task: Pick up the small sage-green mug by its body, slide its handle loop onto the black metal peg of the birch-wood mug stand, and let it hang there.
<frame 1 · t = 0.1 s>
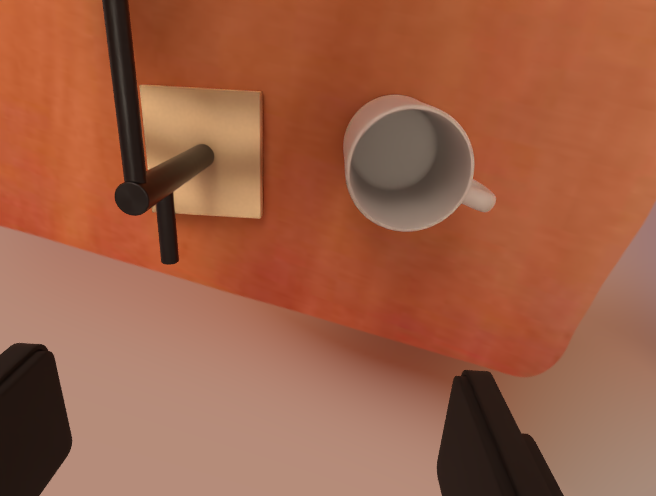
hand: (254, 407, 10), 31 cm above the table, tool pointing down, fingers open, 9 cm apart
mug holder: (207, 153, 39), on the table
mug: (408, 153, 39), on the table
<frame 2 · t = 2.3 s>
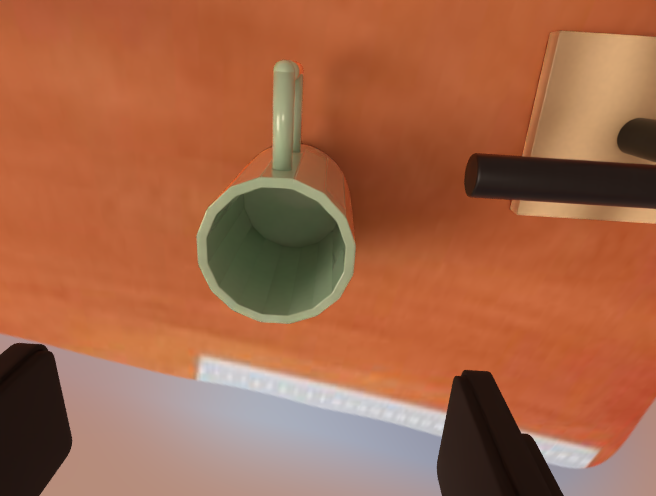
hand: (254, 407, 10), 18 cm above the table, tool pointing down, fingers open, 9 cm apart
small mug: (294, 198, 27), on the table
mug holder: (621, 133, 26), on the table
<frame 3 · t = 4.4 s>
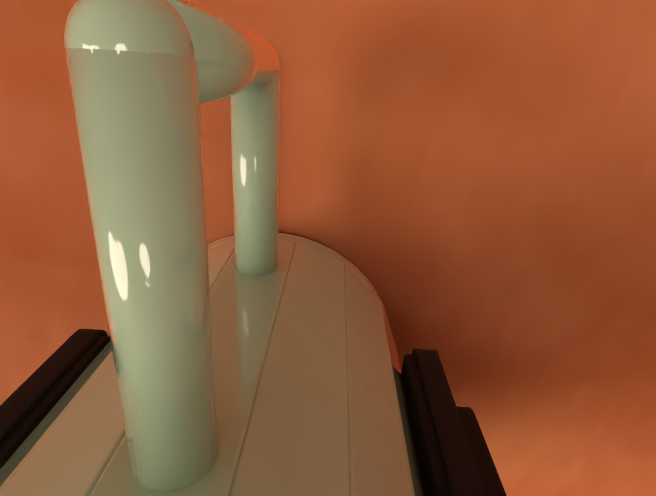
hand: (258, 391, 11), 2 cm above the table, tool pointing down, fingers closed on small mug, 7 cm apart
small mug: (271, 342, 13), on the table, touching gripper
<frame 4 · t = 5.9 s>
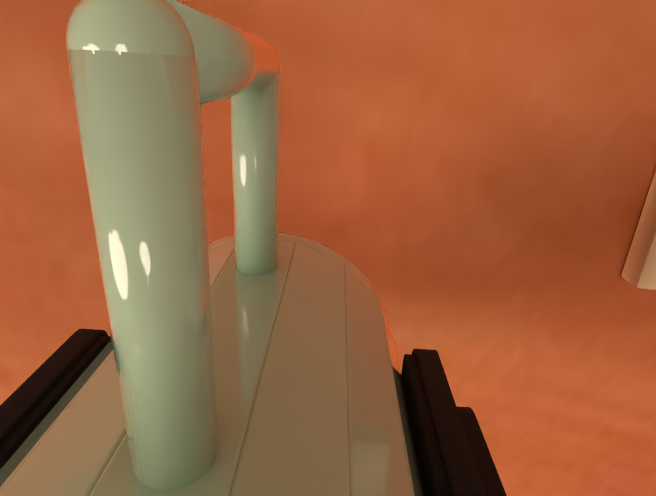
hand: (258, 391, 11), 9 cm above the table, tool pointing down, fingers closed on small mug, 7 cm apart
small mug: (271, 342, 13), point 7 cm above the table, touching gripper
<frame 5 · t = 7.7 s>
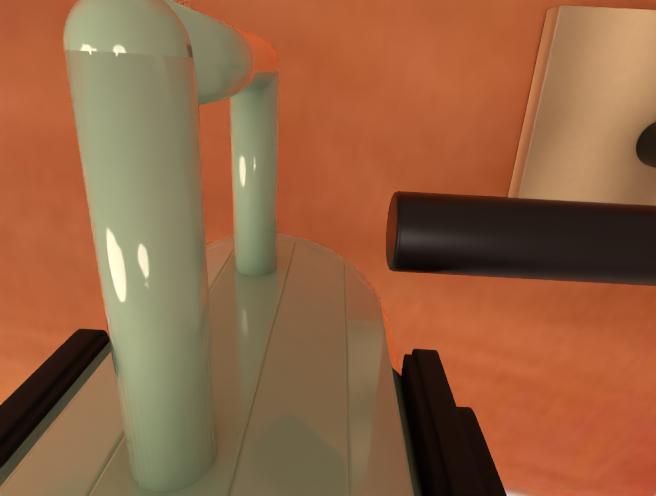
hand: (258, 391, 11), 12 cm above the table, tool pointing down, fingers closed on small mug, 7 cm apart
small mug: (271, 342, 13), point 10 cm above the table, touching gripper
mug holder: (641, 139, 20), on the table
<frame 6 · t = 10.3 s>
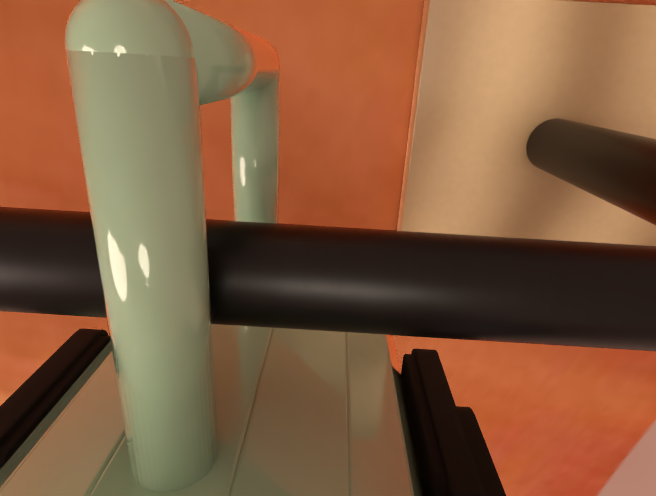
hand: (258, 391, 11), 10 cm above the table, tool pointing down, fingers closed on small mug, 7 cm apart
small mug: (271, 342, 13), point 8 cm above the table, touching gripper, mug holder
mug holder: (538, 139, 18), on the table
when the fingers open (10 cm above the table, at t = 10.8 s): small mug moves 12 cm and tips over, resting on mug holder.
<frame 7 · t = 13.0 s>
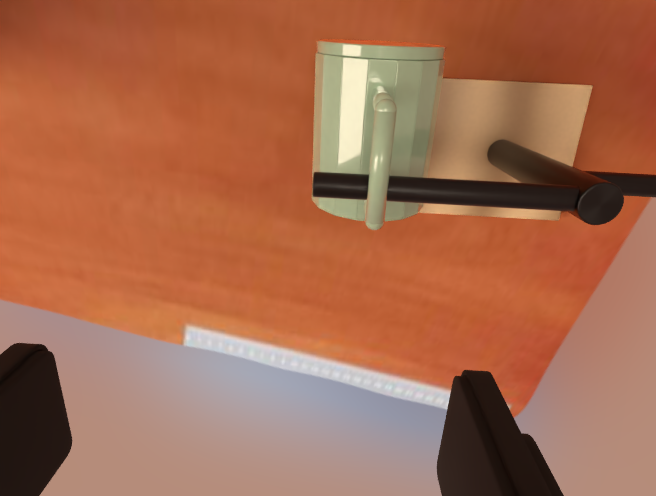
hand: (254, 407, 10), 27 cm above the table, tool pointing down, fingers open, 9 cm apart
small mug: (380, 42, 24), point 9 cm above the table, tilted 96°, touching mug holder
mug holder: (495, 150, 34), on the table
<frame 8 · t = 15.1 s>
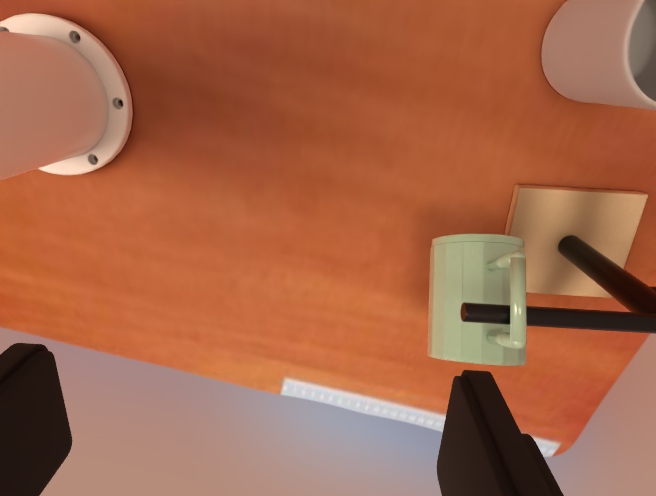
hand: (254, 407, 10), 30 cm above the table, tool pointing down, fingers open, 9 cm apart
small mug: (476, 241, 34), point 6 cm above the table, tilted 59°, touching mug holder
mug holder: (562, 240, 41), on the table
mug: (607, 22, 34), on the table
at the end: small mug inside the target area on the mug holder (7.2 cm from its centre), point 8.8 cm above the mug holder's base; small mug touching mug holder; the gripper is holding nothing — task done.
